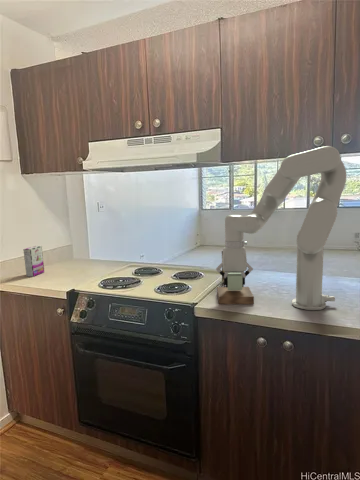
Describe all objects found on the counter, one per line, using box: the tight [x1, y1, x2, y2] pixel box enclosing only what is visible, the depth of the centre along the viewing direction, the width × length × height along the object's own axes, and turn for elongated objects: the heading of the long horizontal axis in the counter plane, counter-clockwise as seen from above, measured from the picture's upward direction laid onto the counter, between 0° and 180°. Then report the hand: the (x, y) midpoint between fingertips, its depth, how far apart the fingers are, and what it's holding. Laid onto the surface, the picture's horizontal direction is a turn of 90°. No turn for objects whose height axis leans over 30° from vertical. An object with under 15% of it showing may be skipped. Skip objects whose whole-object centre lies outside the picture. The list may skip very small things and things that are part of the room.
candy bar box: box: [23, 245, 45, 278], centre depth 193 cm, size 11×5×16 cm, turn 170°
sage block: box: [227, 273, 243, 290], centre depth 139 cm, size 6×6×6 cm
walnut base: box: [216, 286, 255, 305], centre depth 140 cm, size 14×14×3 cm
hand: (234, 285), depth 139 cm, fingers closed on sage block, 6 cm apart
